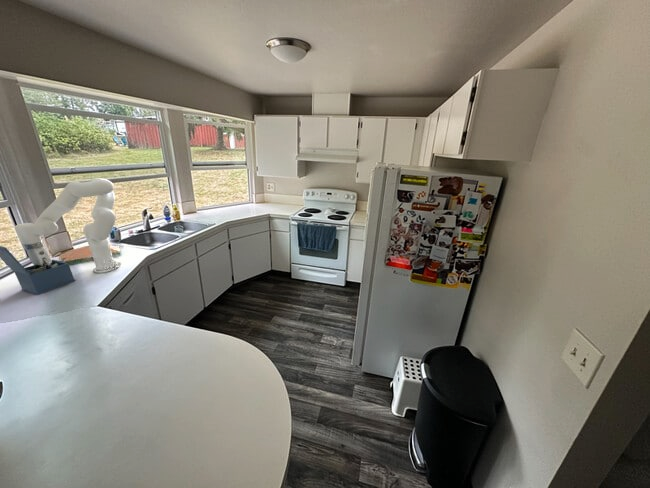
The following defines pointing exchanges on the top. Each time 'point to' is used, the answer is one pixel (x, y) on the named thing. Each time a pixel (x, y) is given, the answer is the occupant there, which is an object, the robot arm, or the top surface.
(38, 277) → the blue bin
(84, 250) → the tan flat block
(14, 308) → the top surface
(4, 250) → the freezer lid
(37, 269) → the food container
